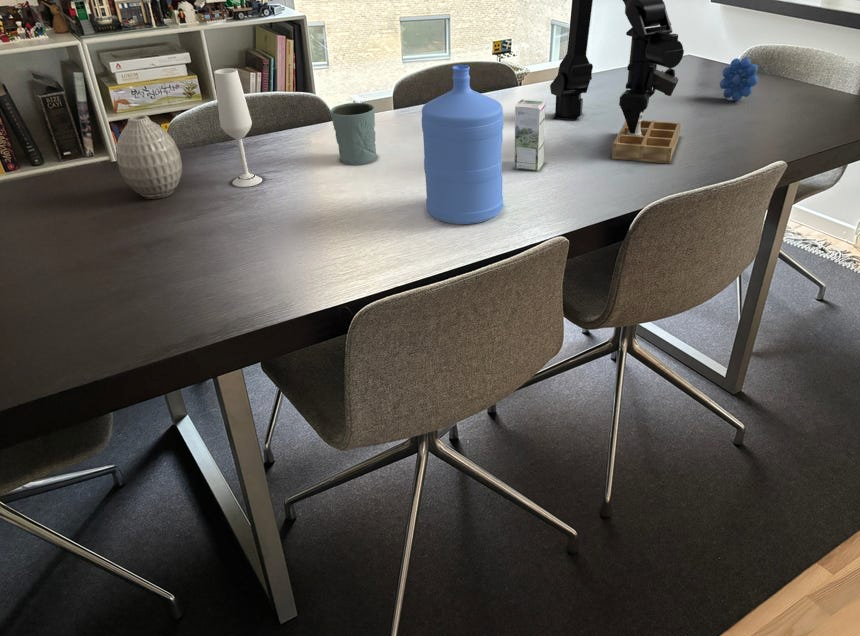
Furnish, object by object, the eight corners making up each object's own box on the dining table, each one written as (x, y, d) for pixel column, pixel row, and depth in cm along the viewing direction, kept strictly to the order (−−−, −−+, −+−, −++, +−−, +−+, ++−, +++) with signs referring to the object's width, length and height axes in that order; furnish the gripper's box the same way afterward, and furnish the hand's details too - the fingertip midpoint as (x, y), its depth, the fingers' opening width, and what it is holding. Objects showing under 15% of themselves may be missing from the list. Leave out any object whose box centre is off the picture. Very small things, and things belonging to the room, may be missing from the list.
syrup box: (544, 163, 175) (546, 99, 167) (537, 172, 170) (539, 107, 162) (520, 161, 176) (521, 98, 168) (513, 169, 172) (514, 105, 164)
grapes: (762, 102, 211) (771, 57, 204) (747, 107, 207) (755, 61, 201) (727, 94, 219) (734, 50, 212) (712, 98, 215) (719, 54, 208)
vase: (131, 209, 158) (108, 130, 149) (124, 190, 167) (101, 114, 158) (193, 197, 163) (175, 120, 153) (183, 179, 172) (164, 105, 163)
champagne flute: (252, 173, 174) (231, 65, 160) (268, 180, 170) (248, 70, 156) (226, 181, 170) (203, 71, 157) (242, 189, 166) (219, 76, 153)
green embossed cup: (387, 158, 180) (383, 107, 174) (355, 169, 174) (349, 117, 168) (360, 149, 186) (354, 100, 180) (327, 160, 180) (321, 109, 174)
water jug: (478, 232, 144) (475, 81, 129) (411, 216, 152) (401, 72, 136) (516, 204, 155) (519, 62, 139) (453, 190, 162) (448, 54, 146)
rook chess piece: (644, 146, 181) (647, 112, 176) (625, 146, 181) (628, 112, 176) (641, 140, 184) (644, 107, 180) (622, 140, 184) (625, 107, 180)
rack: (611, 158, 176) (612, 143, 174) (625, 133, 192) (626, 118, 190) (669, 163, 172) (671, 148, 170) (678, 137, 188) (680, 122, 186)
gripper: (673, 71, 162) (664, 142, 171) (682, 52, 176) (673, 118, 185) (622, 68, 165) (615, 138, 174) (634, 49, 180) (628, 115, 188)
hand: (635, 127), depth 180 cm, fingers open, 9 cm apart
